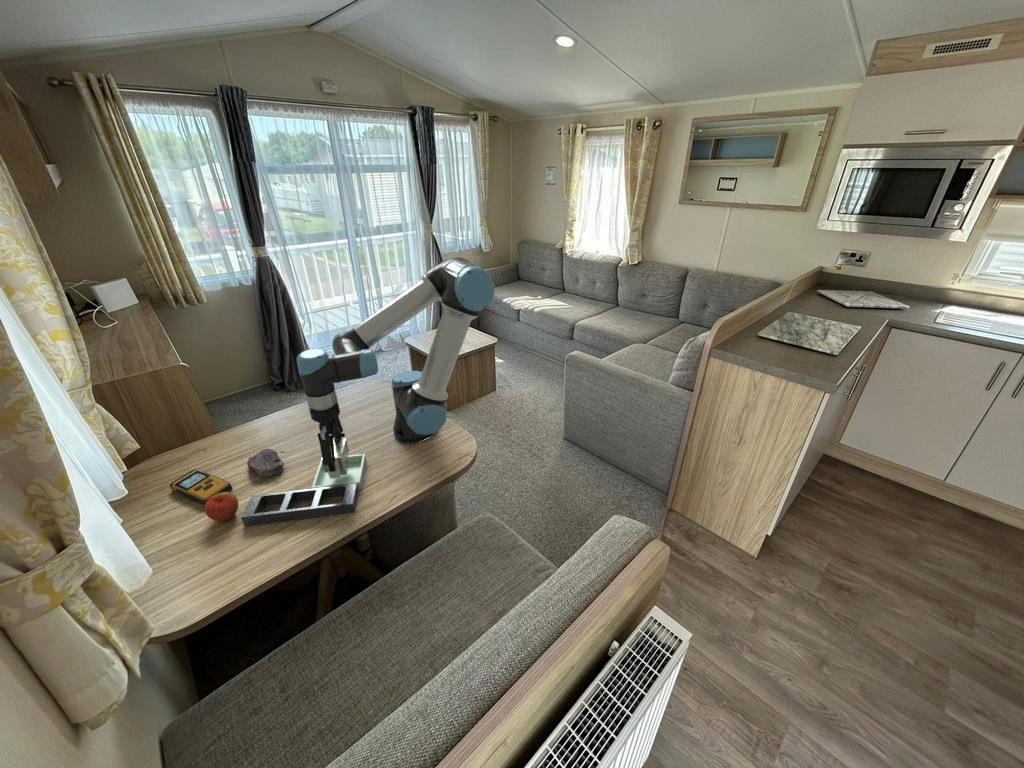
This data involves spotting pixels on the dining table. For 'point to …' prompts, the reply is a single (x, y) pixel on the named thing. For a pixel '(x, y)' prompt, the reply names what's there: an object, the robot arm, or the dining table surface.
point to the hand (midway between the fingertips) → (338, 466)
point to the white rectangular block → (340, 456)
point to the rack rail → (287, 513)
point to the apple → (221, 506)
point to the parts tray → (352, 476)
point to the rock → (266, 463)
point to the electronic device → (199, 486)
